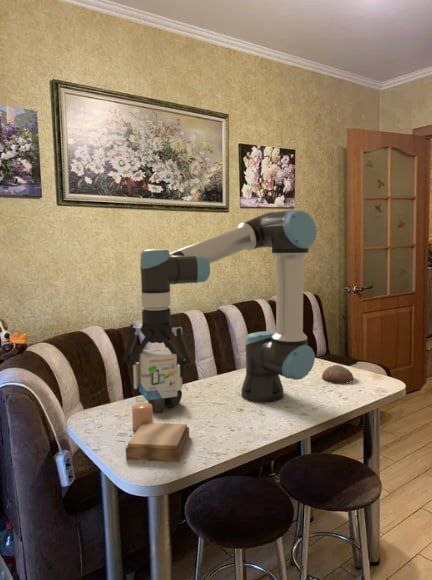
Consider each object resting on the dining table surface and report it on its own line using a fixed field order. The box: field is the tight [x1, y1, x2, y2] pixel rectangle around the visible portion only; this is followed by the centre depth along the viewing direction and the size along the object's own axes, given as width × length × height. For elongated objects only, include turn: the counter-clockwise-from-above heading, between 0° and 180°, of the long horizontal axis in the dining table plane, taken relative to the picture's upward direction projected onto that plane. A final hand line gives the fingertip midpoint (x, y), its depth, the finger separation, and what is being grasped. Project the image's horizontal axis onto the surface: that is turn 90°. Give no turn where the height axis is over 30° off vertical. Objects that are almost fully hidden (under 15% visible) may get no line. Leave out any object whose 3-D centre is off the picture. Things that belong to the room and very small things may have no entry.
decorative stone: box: [321, 364, 354, 384], centre depth 173 cm, size 12×12×6 cm
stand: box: [125, 422, 190, 463], centre depth 119 cm, size 14×14×4 cm
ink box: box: [138, 347, 178, 402], centre depth 118 cm, size 8×8×12 cm
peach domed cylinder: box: [131, 402, 154, 433], centre depth 131 cm, size 6×6×7 cm
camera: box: [147, 389, 183, 414], centre depth 149 cm, size 13×10×10 cm
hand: (158, 388), depth 118 cm, fingers closed on ink box, 11 cm apart
